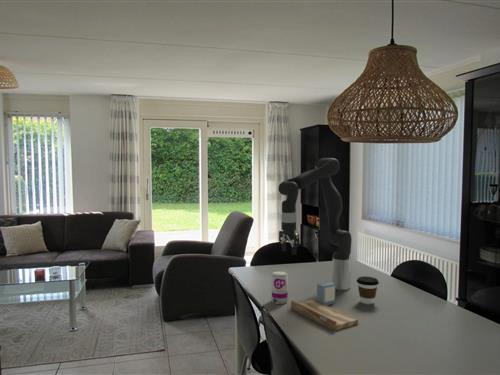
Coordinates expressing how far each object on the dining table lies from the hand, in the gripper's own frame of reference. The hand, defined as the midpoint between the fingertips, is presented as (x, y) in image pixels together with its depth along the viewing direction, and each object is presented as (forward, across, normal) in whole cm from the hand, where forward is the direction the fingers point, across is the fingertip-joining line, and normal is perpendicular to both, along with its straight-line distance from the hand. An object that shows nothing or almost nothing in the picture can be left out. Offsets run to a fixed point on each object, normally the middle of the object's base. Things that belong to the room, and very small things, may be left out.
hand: (289, 252), depth 200 cm
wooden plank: (+26, -23, -2) cm, 35 cm away
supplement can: (+26, +3, +4) cm, 26 cm away
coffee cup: (+27, -20, -34) cm, 48 cm away
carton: (+26, -11, -15) cm, 32 cm away
